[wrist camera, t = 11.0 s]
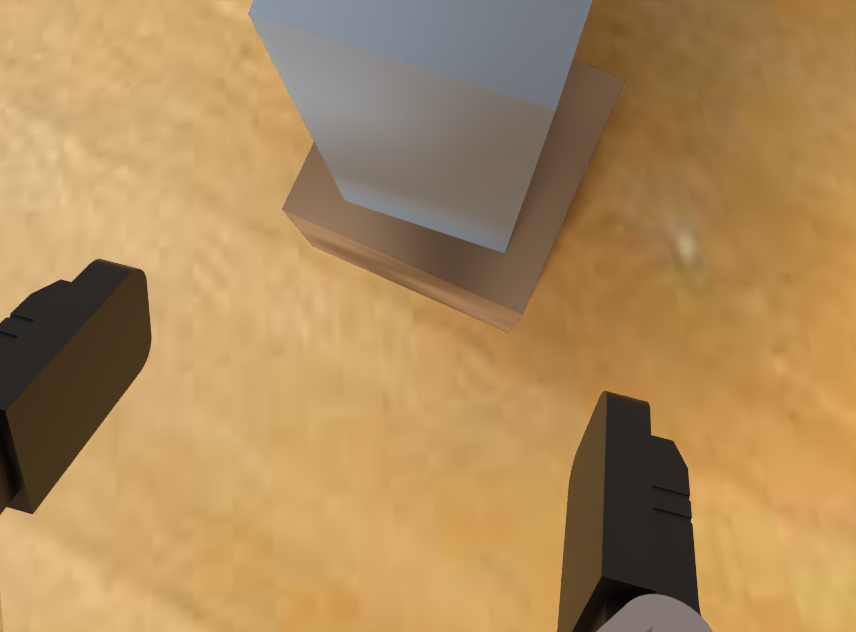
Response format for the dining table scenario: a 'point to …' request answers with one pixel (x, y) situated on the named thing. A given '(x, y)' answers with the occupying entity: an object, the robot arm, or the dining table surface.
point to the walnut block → (456, 258)
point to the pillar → (427, 100)
